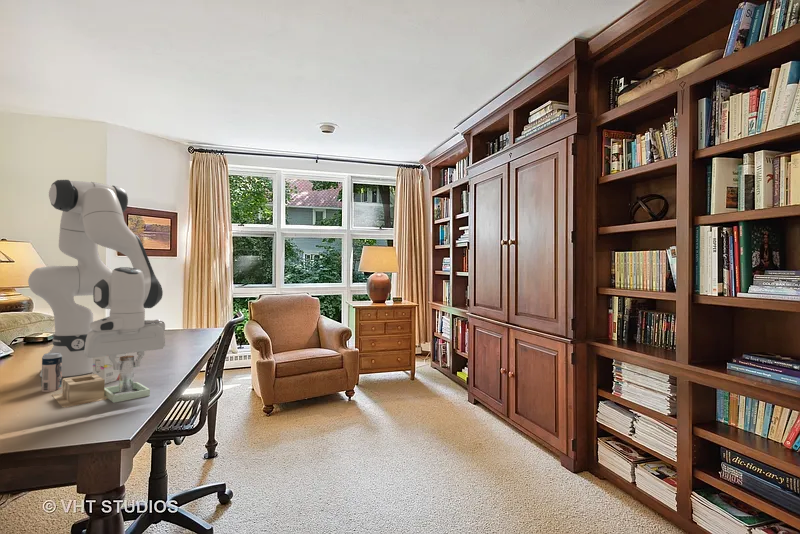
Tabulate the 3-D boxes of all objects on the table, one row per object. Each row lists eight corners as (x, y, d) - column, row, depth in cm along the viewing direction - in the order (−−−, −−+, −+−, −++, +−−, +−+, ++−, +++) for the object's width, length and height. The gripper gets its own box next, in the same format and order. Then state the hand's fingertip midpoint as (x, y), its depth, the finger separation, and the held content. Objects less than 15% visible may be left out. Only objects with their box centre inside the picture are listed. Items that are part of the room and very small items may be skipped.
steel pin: (117, 390, 124) (118, 356, 124) (131, 387, 126) (131, 355, 127) (121, 392, 121) (121, 358, 121) (135, 390, 124) (135, 356, 124)
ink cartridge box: (114, 379, 144) (114, 336, 144) (126, 380, 143) (127, 337, 143) (91, 386, 136) (91, 341, 136) (103, 387, 135) (104, 341, 135)
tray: (102, 397, 124) (102, 388, 124) (137, 390, 131) (137, 382, 131) (113, 406, 117) (113, 396, 117) (149, 398, 124) (149, 389, 124)
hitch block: (51, 398, 123) (52, 377, 123) (100, 389, 132) (100, 370, 132) (63, 411, 112) (63, 389, 112) (115, 401, 121) (115, 380, 121)
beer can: (62, 392, 128) (63, 353, 128) (42, 396, 125) (43, 356, 125) (60, 389, 132) (60, 351, 132) (40, 392, 128) (40, 353, 128)
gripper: (161, 318, 134) (160, 361, 134) (83, 323, 119) (82, 372, 119) (168, 319, 130) (168, 364, 130) (88, 326, 114) (88, 376, 114)
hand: (126, 368), depth 124 cm, fingers closed on steel pin, 4 cm apart
